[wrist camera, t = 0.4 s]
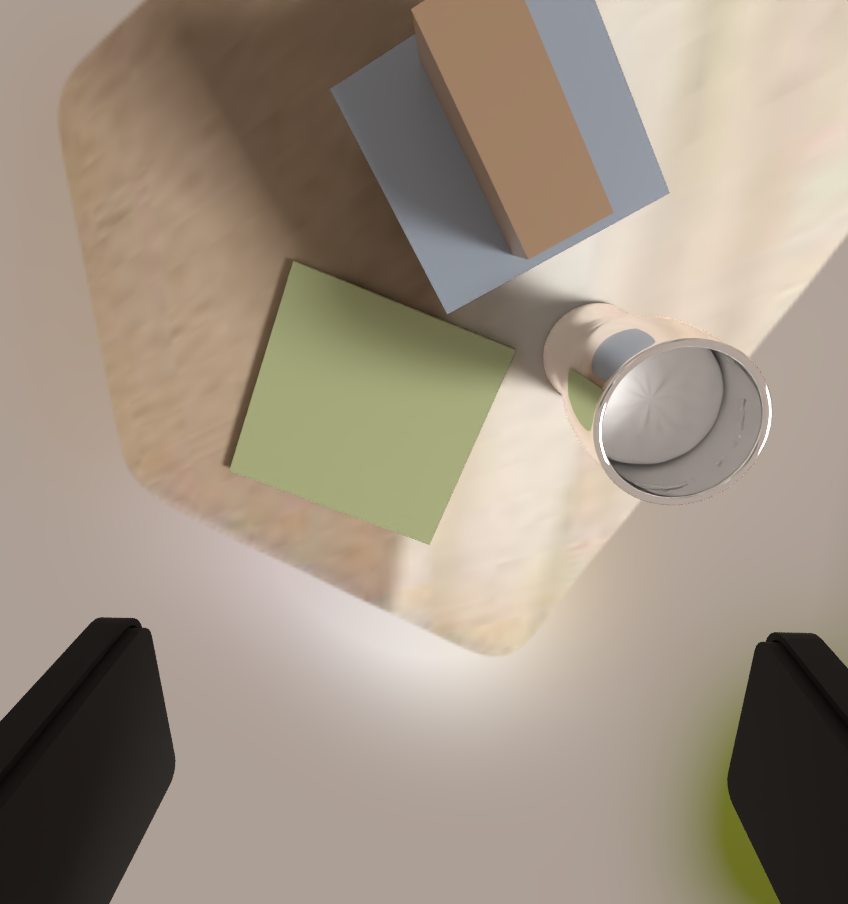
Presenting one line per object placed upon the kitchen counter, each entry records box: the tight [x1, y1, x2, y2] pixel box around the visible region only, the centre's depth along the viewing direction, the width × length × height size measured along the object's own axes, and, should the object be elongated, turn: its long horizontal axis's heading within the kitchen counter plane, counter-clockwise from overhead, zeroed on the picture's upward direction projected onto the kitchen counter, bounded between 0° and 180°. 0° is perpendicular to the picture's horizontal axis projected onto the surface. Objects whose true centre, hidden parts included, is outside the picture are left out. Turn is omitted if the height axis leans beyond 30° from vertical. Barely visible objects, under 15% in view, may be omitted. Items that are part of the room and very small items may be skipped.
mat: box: [229, 261, 516, 545], centre depth 38 cm, size 14×14×1 cm
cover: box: [330, 0, 669, 314], centre depth 26 cm, size 10×10×16 cm
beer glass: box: [543, 303, 772, 505], centre depth 30 cm, size 7×7×15 cm
